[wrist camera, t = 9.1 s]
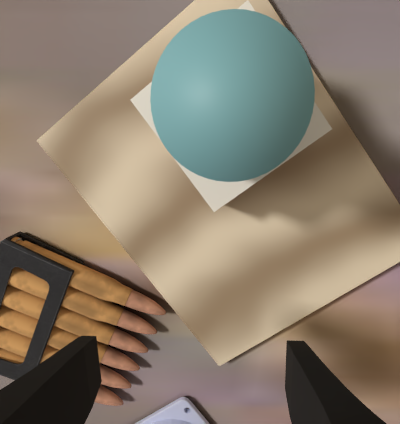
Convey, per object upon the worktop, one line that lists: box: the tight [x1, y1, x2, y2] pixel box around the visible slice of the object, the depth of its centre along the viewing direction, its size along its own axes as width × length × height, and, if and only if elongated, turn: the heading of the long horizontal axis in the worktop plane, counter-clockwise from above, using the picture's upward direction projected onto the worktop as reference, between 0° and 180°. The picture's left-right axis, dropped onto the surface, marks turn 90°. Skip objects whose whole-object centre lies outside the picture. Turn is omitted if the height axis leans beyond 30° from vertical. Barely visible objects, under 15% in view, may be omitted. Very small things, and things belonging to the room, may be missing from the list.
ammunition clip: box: [0, 232, 166, 406], centre depth 23 cm, size 11×2×12 cm
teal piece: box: [150, 9, 315, 182], centre depth 11 cm, size 4×4×4 cm
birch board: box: [37, 0, 400, 366], centre depth 20 cm, size 20×16×1 cm
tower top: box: [131, 0, 332, 212], centre depth 14 cm, size 6×6×3 cm
